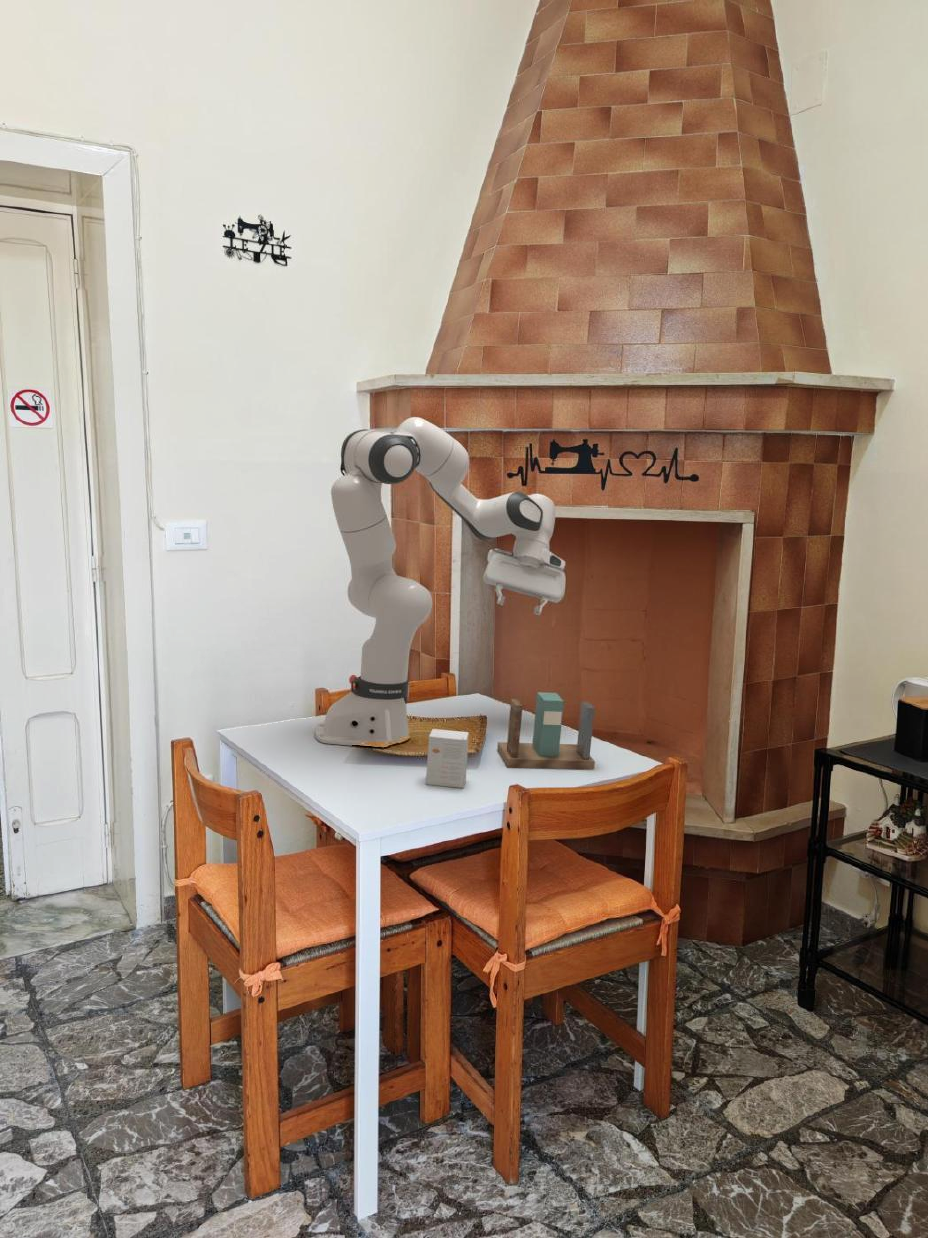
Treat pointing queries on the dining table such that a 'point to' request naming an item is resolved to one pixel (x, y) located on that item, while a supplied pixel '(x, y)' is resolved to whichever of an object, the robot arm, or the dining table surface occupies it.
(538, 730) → the book
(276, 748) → the dining table surface
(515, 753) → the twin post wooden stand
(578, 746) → the bookend
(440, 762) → the small box
